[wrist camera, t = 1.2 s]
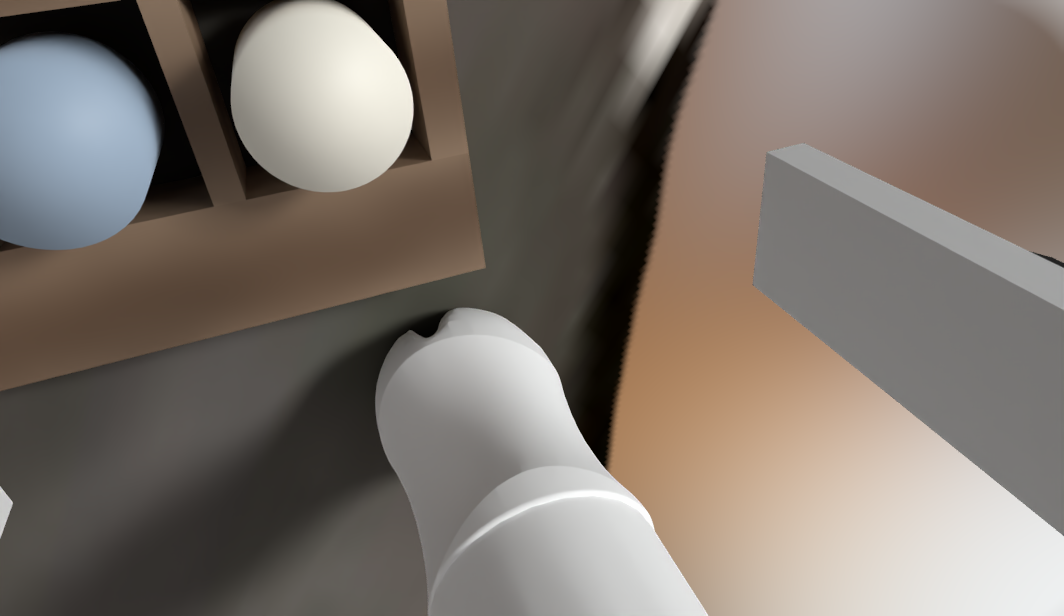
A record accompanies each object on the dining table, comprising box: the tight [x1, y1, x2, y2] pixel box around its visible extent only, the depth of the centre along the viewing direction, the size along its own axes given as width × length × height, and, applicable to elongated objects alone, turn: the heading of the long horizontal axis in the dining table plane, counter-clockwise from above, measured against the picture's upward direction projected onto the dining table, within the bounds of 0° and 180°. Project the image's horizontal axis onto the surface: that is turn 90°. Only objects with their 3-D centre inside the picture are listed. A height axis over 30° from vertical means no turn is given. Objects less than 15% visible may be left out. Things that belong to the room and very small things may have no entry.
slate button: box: [0, 31, 165, 250], centre depth 17 cm, size 4×4×4 cm
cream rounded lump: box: [231, 0, 413, 192], centre depth 19 cm, size 4×4×4 cm
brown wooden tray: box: [0, 0, 486, 391], centre depth 19 cm, size 14×21×3 cm, turn 98°
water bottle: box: [375, 308, 708, 616], centre depth 19 cm, size 7×7×25 cm
